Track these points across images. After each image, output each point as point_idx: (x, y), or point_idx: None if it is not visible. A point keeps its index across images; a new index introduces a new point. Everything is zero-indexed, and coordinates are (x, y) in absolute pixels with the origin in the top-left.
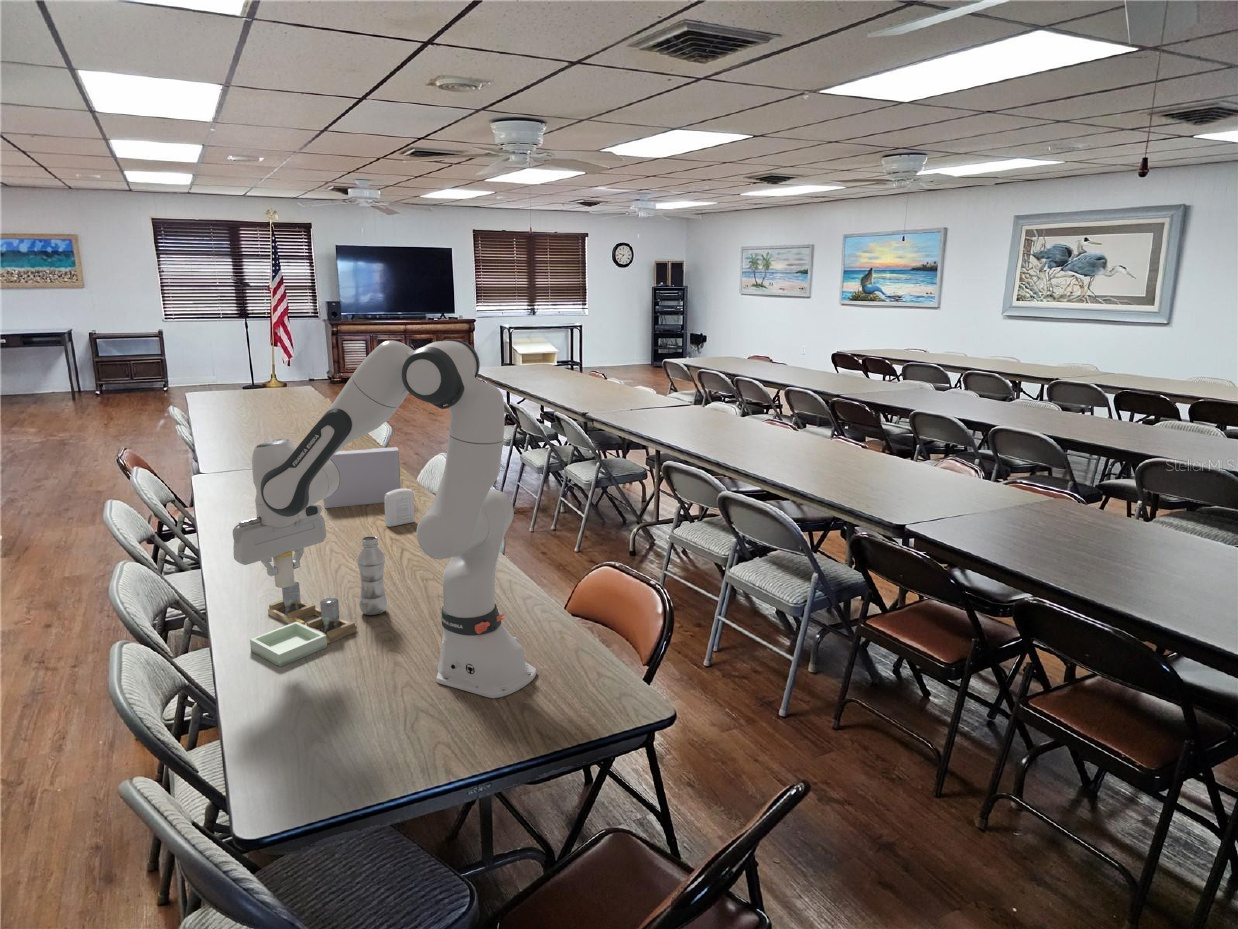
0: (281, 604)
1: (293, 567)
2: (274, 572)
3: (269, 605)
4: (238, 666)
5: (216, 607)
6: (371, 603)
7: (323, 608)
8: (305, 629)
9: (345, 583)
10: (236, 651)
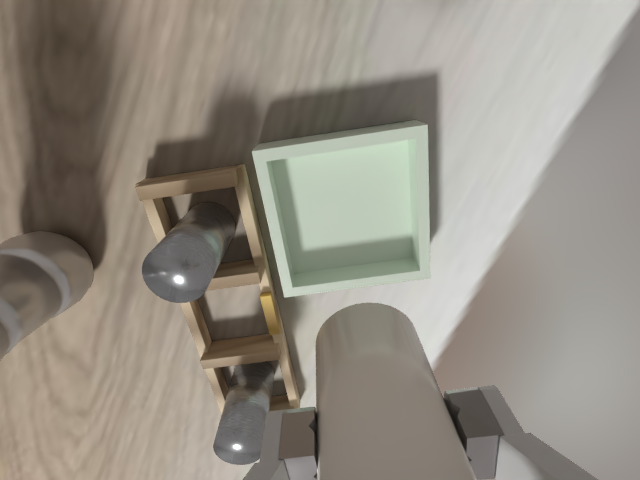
0: None
1: (316, 418)
2: (481, 403)
3: None
4: (483, 205)
5: None
6: (42, 252)
7: (209, 256)
8: (283, 240)
9: (89, 437)
10: (442, 282)
